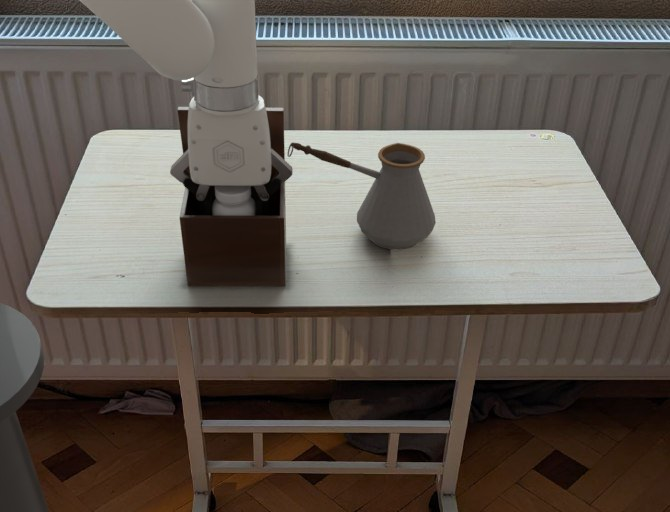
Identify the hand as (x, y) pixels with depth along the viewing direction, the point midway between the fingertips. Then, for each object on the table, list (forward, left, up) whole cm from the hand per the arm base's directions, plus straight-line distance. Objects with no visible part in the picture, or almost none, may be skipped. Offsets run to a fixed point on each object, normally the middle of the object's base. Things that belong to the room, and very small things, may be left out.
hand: (235, 221), depth 111 cm
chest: (0, 0, -7) cm, 7 cm away
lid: (+3, +3, +9) cm, 10 cm away
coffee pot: (+18, -7, -7) cm, 21 cm away
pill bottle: (0, 0, -6) cm, 6 cm away
